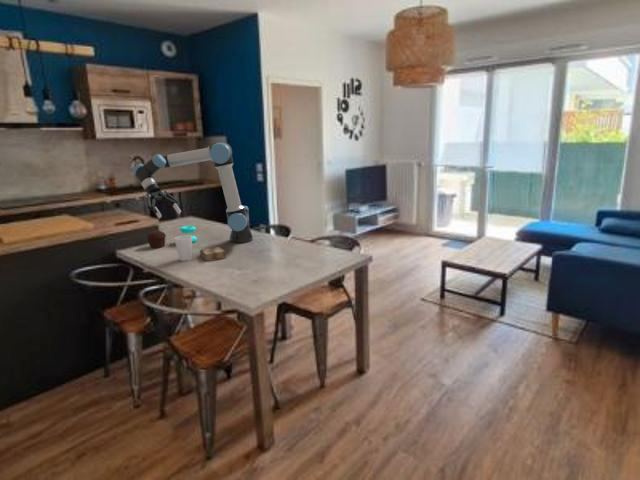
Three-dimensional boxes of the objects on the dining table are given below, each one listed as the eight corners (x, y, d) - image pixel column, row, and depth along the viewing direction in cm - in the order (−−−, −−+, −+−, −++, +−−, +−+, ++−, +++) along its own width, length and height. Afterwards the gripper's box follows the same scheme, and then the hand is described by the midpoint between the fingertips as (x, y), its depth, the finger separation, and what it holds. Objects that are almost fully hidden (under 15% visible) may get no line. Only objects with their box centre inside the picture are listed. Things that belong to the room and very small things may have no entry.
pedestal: (220, 252, 247) (220, 246, 246) (226, 257, 237) (225, 251, 236) (200, 255, 242) (199, 249, 241) (205, 261, 231) (204, 254, 230)
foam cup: (188, 262, 230) (186, 239, 227) (173, 261, 232) (171, 239, 229) (196, 257, 239) (194, 235, 236) (182, 256, 241) (180, 234, 238)
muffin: (154, 250, 255) (152, 234, 252) (144, 247, 261) (142, 232, 258) (170, 245, 264) (169, 230, 261) (161, 243, 270) (159, 228, 268)
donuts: (177, 226, 271) (192, 224, 277) (179, 241, 274) (194, 238, 279) (182, 229, 263) (197, 227, 269) (184, 244, 266) (199, 242, 271)
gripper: (166, 188, 254) (185, 215, 250) (129, 194, 234) (149, 222, 230) (171, 180, 250) (190, 207, 246) (134, 185, 230) (154, 214, 226)
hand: (170, 214), depth 238 cm, fingers open, 13 cm apart
